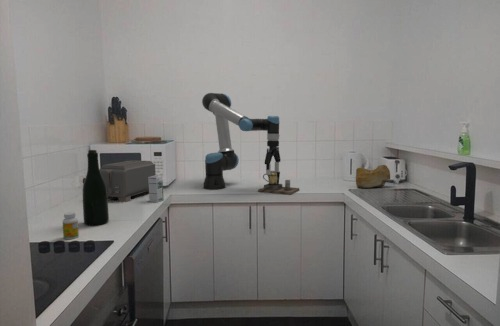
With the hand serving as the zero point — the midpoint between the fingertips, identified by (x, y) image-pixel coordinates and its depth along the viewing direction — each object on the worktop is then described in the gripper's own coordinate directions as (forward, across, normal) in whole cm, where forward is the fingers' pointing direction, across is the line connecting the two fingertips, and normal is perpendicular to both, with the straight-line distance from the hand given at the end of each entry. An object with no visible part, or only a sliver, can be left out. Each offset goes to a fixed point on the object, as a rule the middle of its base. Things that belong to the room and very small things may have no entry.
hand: (272, 173), depth 237 cm
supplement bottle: (+12, -122, +33) cm, 127 cm away
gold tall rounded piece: (+10, 0, -1) cm, 10 cm away
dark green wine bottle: (+12, -103, +41) cm, 112 cm away
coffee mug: (+12, +16, +7) cm, 21 cm away
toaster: (+13, -53, +73) cm, 91 cm away
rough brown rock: (+11, +41, -55) cm, 69 cm away
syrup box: (+12, -56, +48) cm, 75 cm away
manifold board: (+11, 0, -5) cm, 12 cm away
